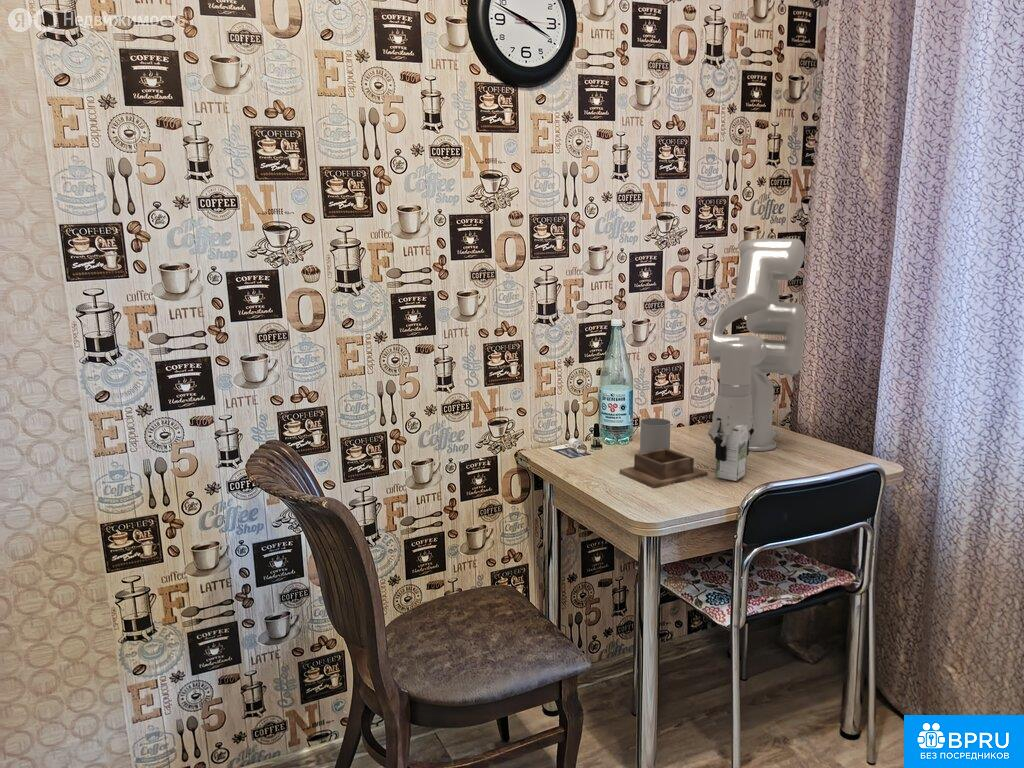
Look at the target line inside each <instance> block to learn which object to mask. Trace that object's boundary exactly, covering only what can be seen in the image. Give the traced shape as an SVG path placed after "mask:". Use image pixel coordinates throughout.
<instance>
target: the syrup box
mask: <svg viewBox="0 0 1024 768" xmlns="http://www.w3.org/2000/svg"><path fill="white" fill-rule="evenodd" d="M720 428H721V427H720ZM720 432H721V433H723V431H722V430H721V429H720ZM722 438H723V436H721V438H720V439H721V440H722ZM747 442H748V431H747V425H738V426H734V429H733V434H732V435H731V436H728V438H727V441H726V443H725V445H724V446H726V447H727V451H726V461H721V460H718V459H716V467H715V477H716V478H719V479H724V480H729V481H734V482H737V481H739V480H740V479H741V478H743V477H744V476H746V473H747V472H746V469H747V456H748V455H747Z"/></svg>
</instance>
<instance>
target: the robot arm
mask: <svg viewBox="0 0 1024 768" xmlns="http://www.w3.org/2000/svg"><path fill="white" fill-rule="evenodd" d="M805 254H806V249H805V244H804V242H803V241H802V240H801V239H798V238H793V237H792V238H766V237H765V238H751V239H747V240H744V241H743V242H742V243H741V244H740V246H739V258H740V263H739V268H738V275H737V280H736V285H735V293H734V297H733V299H732V300H731V301H729V302H728V303H727V304H725V306H723V308H722V309H721V310H720V311H719V312H718V313H717V315H716V316H715V317H714V319H713V322H712V324H711V327H710V333H709V337H708V338H709V339H708V343H707V344H708V345H707V354H708V357H709V360H711V361H712V362H713V363H716V364H720V365H719V367H720V368H719V386H718V387H719V389H718V394H717V395H716V398H715V402H714V405H713V406H714V407H713V410H712V411H713V412H712V421H711V422H712V425H711V427H710V428H709V430H708V431H707V434H708V436H709V437H710V439H711V441H712V442H713V444H714V445H715V455H714V457H715V459H716V460H717V459H718V460H721V461H726V451H727V447H726V446H724V445H725V443H726V441H727V438H728V436H731V435H732V434H733V429H734V426H738V425H747V431H748V442H747V456H749V452H750V451H751V452H752V451H753V452H754V451H755V452H766V451H771V450H774V449H776V448H777V442H776V441H775V440H774V438H775V437H778V436H781V435H782V434H783V431H782V430H781V429H780V428H778V429H773V412H774V411H773V409H774V394H775V388H774V385H773V383H772V381H771V379H770V378H769V377H768V376H767V374H779V375H796V374H797V373H799V372H800V370H801V367H802V364H803V355H804V341H805V332H806V331H805V330H806V311H805V309H804V306H803V305H802V304H800V303H798V302H794V301H793V302H791V301H789V302H787V301H780V291H781V290H780V289H781V285H780V282H779V281H791V280H794V279H795V278H796V276H797V275H798V273H799V270H800V269H801V267H802V265H803V263H804V261H805V260H804V259H805ZM743 317H744V318H745V317H746V319H745V321H746V323H745V325H746V328H747V331H748V332H750V333H751V334H753V335H741V334H740V335H739V334H724V331H725V330H726V328H727V327H728V326H729V325H730V324H731V323H734V322H735V321H737V320H738V319H741V318H743ZM754 334H755V335H764V336H766V335H767V336H780V337H781V336H782V337H785V338H786V340H783V339H782V340H779V339H778V340H777V339H766V338H765V339H764V338H761V337H759V336H754ZM720 427H721V428H720ZM720 429H721V430H722V431H723V433H721V432H720ZM721 436H723V438H722V440H721V439H720V438H721Z"/></svg>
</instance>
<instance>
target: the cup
mask: <svg viewBox="0 0 1024 768" xmlns="http://www.w3.org/2000/svg"><path fill="white" fill-rule="evenodd" d="M639 433H640V435H639V436H640V437H639V453H644V452H649V451H654V450H658V449H663V448H667V449H670V450H671V421H670V420H669V419H666V418H659V417H650V418H649V417H648V418H643V419H641V420H640V431H639Z"/></svg>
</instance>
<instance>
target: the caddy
mask: <svg viewBox="0 0 1024 768" xmlns="http://www.w3.org/2000/svg"><path fill="white" fill-rule="evenodd" d="M633 460H634V462H633V463H634V465H633V466H630V467H625V468H620V469H619V474H621V475H623V476H625V477H627V478H630V479H632V480H634V481H636V482H638V483H641V484H644V485H646V486H649V487H650V488H653V489H658V488H661V486H662V487H666V486H670V485H669V484H671V485H675V484H679V483H683V482H687V480H688V481H692V480H695V478H696V479H699V477H700V478H704V476H705V477H708V476H709V472H708V471H706V470H703V469H700V468H698V467H695V466H694V464H695V463H694V462H695V461H694V460H695V458H694V457H692V456H689V455H686V454H683V453H681V452H678V451H676V450H673V449H671V448H670V449H667V448H663V449H658V450H654V451H649V452H644V453H640V452H639V453H635V454H634V459H633ZM691 479H692V480H691ZM678 482H679V483H678ZM674 483H675V484H674ZM665 485H666V486H665ZM657 487H658V488H657Z"/></svg>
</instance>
